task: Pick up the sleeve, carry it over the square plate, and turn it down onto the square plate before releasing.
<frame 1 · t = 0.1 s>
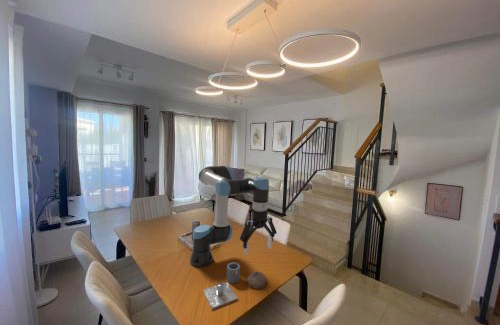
hand: (258, 250, 103), 28 cm above the table, fingers open, 13 cm apart
square plate: (220, 295, 109), on the table
decorative stone: (256, 282, 121), on the table
sleeve: (233, 278, 123), on the table
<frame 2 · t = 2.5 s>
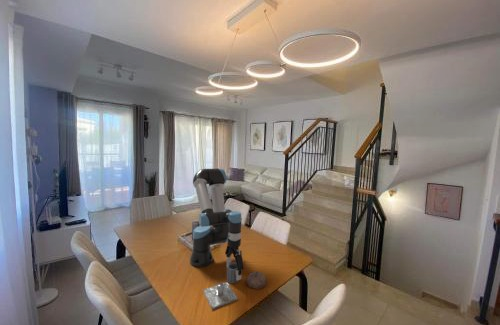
hand: (233, 273, 122), 4 cm above the table, fingers open, 13 cm apart
nothing on the table moved.
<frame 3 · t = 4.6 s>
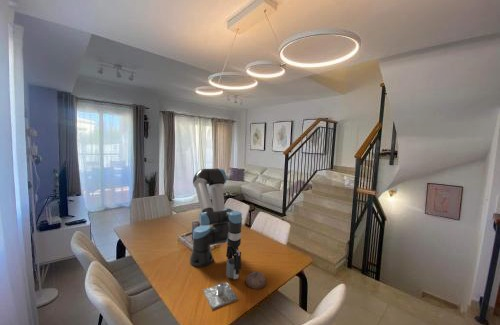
hand: (232, 273, 123), 3 cm above the table, fingers closed on sleeve, 8 cm apart
sleeve: (232, 273, 124), point 2 cm above the table, touching gripper
everything else where it was.
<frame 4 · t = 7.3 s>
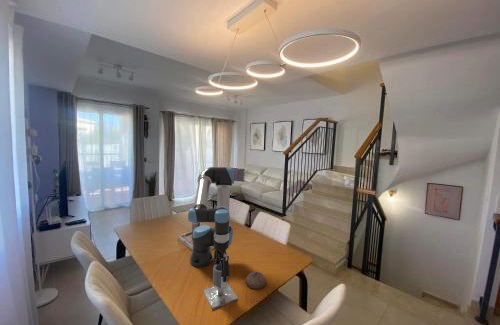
hand: (220, 281, 108), 8 cm above the table, fingers closed on sleeve, 8 cm apart
sleeve: (220, 281, 109), point 8 cm above the table, touching gripper
everything else where it was.
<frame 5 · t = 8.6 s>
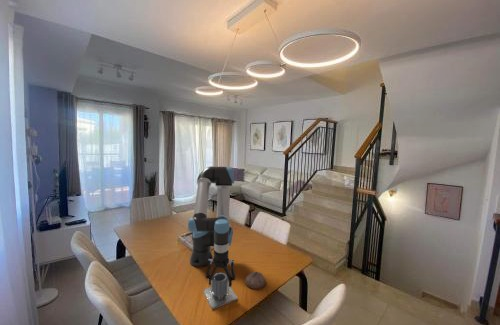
hand: (220, 291, 109), 3 cm above the table, fingers closed on sleeve, 8 cm apart
sleeve: (219, 291, 109), point 2 cm above the table, touching gripper
everything else where it was.
when the fingers open (2 cm above the table, at t = 9.8 s): sleeve stays where it is, resting on square plate.
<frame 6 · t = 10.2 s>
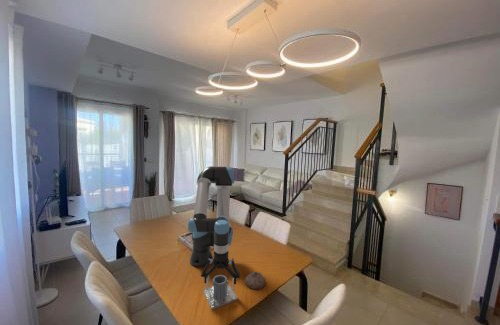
hand: (220, 289, 109), 4 cm above the table, fingers open, 13 cm apart
sleeve: (219, 293, 109), point 1 cm above the table, touching square plate
everything else where it was.
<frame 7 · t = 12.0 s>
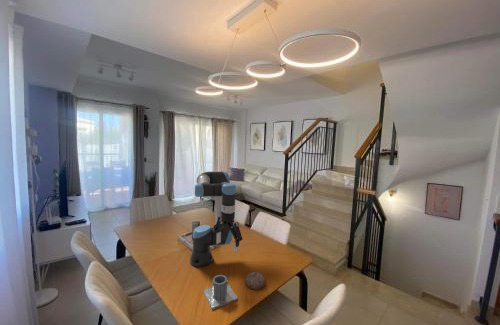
hand: (226, 247, 117), 22 cm above the table, fingers open, 13 cm apart
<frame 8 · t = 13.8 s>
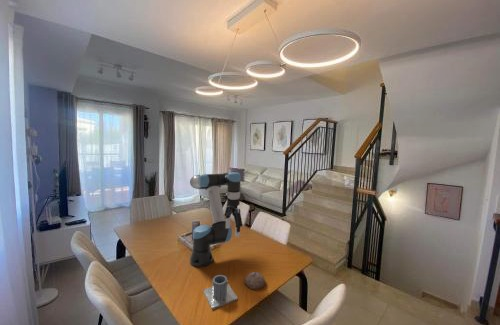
hand: (232, 232, 125), 27 cm above the table, fingers open, 13 cm apart
at the end: sleeve 0.3 cm off-centre on the square plate, point 1.0 cm above the square plate's base; sleeve tilted 0°; the gripper is holding nothing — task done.
